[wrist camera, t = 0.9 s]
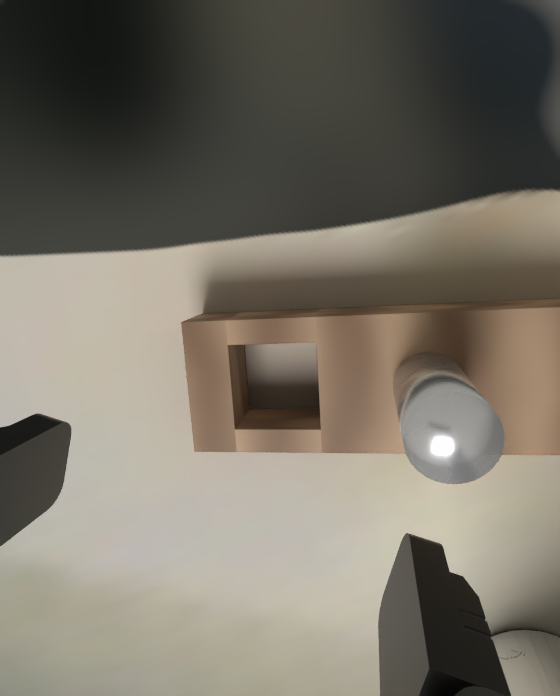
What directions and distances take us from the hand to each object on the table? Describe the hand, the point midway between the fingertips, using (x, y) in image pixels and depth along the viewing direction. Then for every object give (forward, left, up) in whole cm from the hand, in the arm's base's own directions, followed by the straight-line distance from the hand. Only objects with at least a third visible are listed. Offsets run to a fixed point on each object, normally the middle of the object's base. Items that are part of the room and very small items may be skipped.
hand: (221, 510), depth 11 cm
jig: (-5, -2, -22) cm, 23 cm away
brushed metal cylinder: (-6, -4, -18) cm, 19 cm away
